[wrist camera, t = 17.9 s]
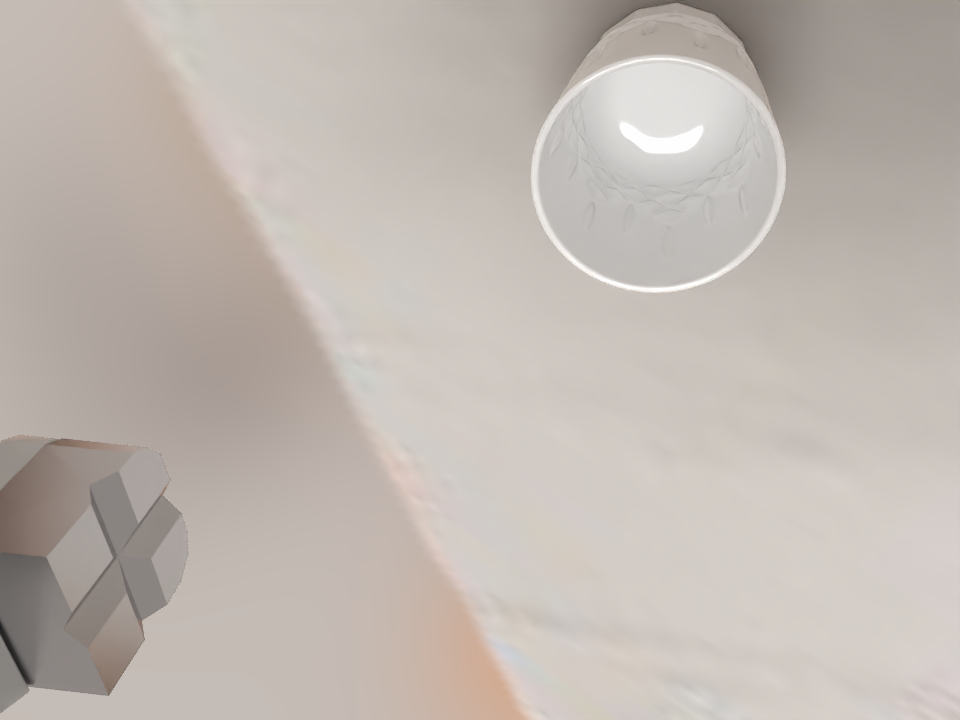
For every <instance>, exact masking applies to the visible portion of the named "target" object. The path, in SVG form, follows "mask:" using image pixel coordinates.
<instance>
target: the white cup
mask: <svg viewBox="0 0 960 720" xmlns="http://www.w3.org/2000/svg"><path fill="white" fill-rule="evenodd" d="M785 184H786V158H785V151H784V146H783V142H782V138H781V135H780V132H779V130H778V127H777V124H776V121H775V118H774V116H773V113H772V110H771V107H770V104H769V101H768V97H767V94H766V92H765V89H764V87H763V85H762V83H761V80H760V78H759V76H758V74H757V71H756V69H755V67H754V65H753V63H752V61H751V59H750V58H749V56H748V55H747V53H746V51H745V48H744V45H743V42H742V41H741V40H740V39H739V38H738V37H737V36H736V35H735V34H734V33H733V32H732V31H731V30H730V29H729V28H728V27H727V26H726V25H725V24H724V23H723V22H722V21H721V20H720V19H719V18H718V17H717V16H716V15H715V14H712V13H709V12H706V11H702V10H699V9H696V8H693V7H689V6H686V5H683V4H680V3H672V4H666V5H661V6H655V7H649V8H643V9H637V10H636V11H634V12H633V13H632V14H630V15H629V16H627V17H626V18H624V19H623V20H622V21H620V22H619V23H617V24H616V25H614V26H613V27H612V28H610V29H609V30H607V31H606V32H605V33H604V34H603V36H602V37H601V39H600V41H599V42H598V44H597V45H596V46H595V47H594V48H593V49H592V50H591V51H590V52H589V53H588V55H587V56H586V57H585V59H584V60H583V62H582V63H581V64H580V65H579V67H578V68H577V70H576V71H575V73H574V74H573V76H572V78H571V79H570V81H569V83H568V84H567V86H566V87H565V89H564V91H563V92H562V94H561V96H560V97H559V99H558V101H557V102H556V104H555V106H554V107H553V109H552V110H551V112H550V113H549V115H548V117H547V118H546V120H545V122H544V124H543V126H542V128H541V130H540V132H539V135H538V138H537V140H536V144H535V147H534V151H533V156H532V162H531V190H532V197H533V201H534V205H535V209H536V212H537V215H538V217H539V220H540V222H541V224H542V226H543V228H544V230H545V232H546V234H547V235H548V237H549V238H550V240H551V241H552V243H553V244H554V245H555V246H556V248H557V249H558V250H559V251H560V252H561V253H562V254H563V255H564V256H565V257H566V258H567V259H568V260H569V261H570V262H571V263H572V264H573V265H575V266H576V267H577V268H579V269H580V270H582V271H583V272H585V273H586V274H588V275H590V276H591V277H593V278H595V279H597V280H599V281H601V282H604V283H606V284H609V285H612V286H615V287H618V288H621V289H626V290H630V291H637V292H646V293H664V292H674V291H680V290H685V289H690V288H693V287H697V286H700V285H702V284H705V283H708V282H710V281H712V280H714V279H716V278H718V277H720V276H722V275H724V274H726V273H727V272H729V271H730V270H732V269H733V268H735V267H736V266H737V265H739V264H740V263H741V262H742V261H744V260H745V259H746V258H747V257H748V256H749V255H750V254H751V253H752V252H753V251H754V250H755V249H756V248H757V247H758V245H759V244H760V243H761V242H762V240H763V239H764V238H765V236H766V235H767V233H768V232H769V230H770V228H771V227H772V225H773V223H774V221H775V219H776V217H777V214H778V212H779V209H780V206H781V203H782V199H783V195H784V190H785Z"/></svg>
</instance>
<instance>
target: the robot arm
mask: <svg viewBox="0 0 960 720" xmlns="http://www.w3.org/2000/svg"><path fill="white" fill-rule="evenodd" d="M170 480H171V479H170V477H169V474H168V471H167V469H166V466H165V463H164V461H163V458H162V455H161V454H160V453H158V452H156V451H153V450H151V449H149V448H146V447H136V446H128V445H118V444H108V443H100V442H90V441H81V440H72V439H53V438H44V437H35V436H25V435H18V436H14V437H11V438H8V439H4V440H2V441H1V442H0V713H1V712H3V711H4V710H5V709H7V708H8V707H9V706H11V705H12V704H13V703H15V702H16V701H17V700H18V699H20V698H21V697H23V696H24V695H25V694H27V693H28V692H29V688H28V687H37V688H45V689H54V690H63V691H71V692H80V693H89V694H98V695H106V696H109V695H110V693H111V691H112V690H113V688H114V687H115V685H116V684H117V682H118V680H119V679H120V677H121V676H122V674H123V673H124V671H125V670H126V668H127V666H128V665H129V664H130V662H131V660H132V659H133V657H134V656H135V654H136V653H137V651H138V649H139V648H140V646H141V645H142V643H143V642H144V640H145V639H144V632H143V624H142V620H143V619H145V618H147V617H148V616H150V615H151V614H153V613H155V612H156V611H158V610H159V609H161V608H163V607H164V606H166V605H167V604H168V603H169V601H170V599H171V598H172V596H173V594H174V593H175V591H176V589H177V588H178V586H179V584H180V583H181V579H182V576H183V572H184V569H185V565H186V561H187V557H188V535H187V529H186V526H185V522H184V519H183V516H182V513H181V512H180V511H178V510H177V509H176V508H175V507H174V506H173V505H172V504H171V503H170V502H169V501H168V500H167V499H166V498H165V497H164V496H163V493H164V491H165V490H166V488H167V486H168V484H169V482H170Z"/></svg>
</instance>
